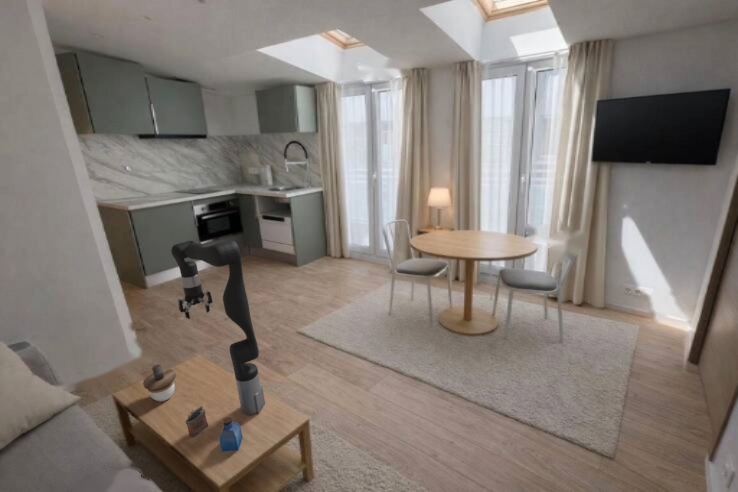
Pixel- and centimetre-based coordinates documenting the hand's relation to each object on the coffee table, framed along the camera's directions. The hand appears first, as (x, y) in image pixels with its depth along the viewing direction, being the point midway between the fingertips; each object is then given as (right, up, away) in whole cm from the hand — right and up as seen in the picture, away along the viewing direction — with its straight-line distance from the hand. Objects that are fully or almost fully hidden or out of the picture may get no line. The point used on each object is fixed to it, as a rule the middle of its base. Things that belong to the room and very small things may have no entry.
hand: (198, 315), depth 171 cm
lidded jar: (-14, -38, -3) cm, 40 cm away
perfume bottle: (+28, -45, -31) cm, 61 cm away
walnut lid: (-15, -29, -6) cm, 33 cm away
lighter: (+11, -43, -23) cm, 50 cm away
